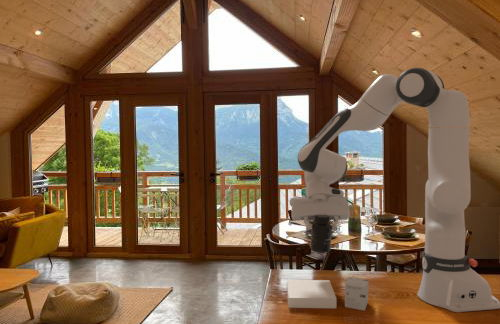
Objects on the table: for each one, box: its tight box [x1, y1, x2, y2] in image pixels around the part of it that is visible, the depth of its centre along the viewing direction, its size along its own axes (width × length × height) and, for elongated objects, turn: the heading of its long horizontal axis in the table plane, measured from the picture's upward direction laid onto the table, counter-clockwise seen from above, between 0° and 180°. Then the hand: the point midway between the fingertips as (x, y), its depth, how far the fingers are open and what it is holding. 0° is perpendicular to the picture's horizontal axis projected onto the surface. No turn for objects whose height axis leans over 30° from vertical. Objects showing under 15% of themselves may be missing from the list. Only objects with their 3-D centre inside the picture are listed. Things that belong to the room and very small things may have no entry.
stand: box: [286, 279, 338, 309], centre depth 124 cm, size 14×14×3 cm
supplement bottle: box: [310, 215, 333, 254], centre depth 135 cm, size 7×7×12 cm
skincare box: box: [344, 276, 370, 311], centre depth 119 cm, size 6×6×7 cm
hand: (322, 229), depth 135 cm, fingers closed on supplement bottle, 7 cm apart
